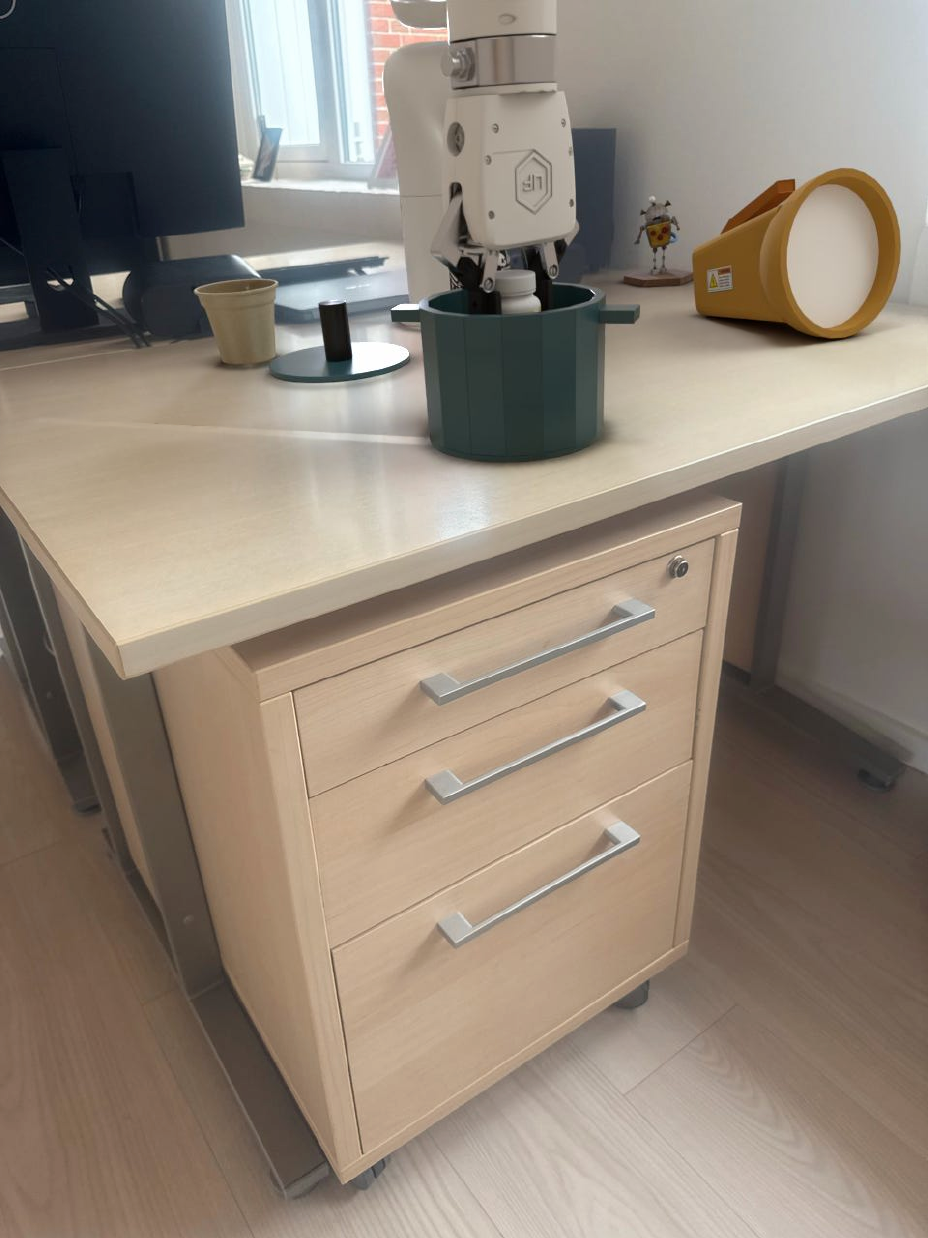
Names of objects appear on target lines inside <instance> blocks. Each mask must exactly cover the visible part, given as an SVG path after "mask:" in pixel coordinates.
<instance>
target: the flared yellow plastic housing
mask: <svg viewBox="0 0 928 1238" xmlns="http://www.w3.org/2000/svg"><path fill="white" fill-rule="evenodd" d="M897 215H898V214H897V213H896V210H895V207H894V205H893V201H892V200H891V198H890V197H889V195H888V193H887V192H886V190H885V188H884V187H883V186H882V185H881V184H880V183H879V181H877V179H875V178H874V177H872V176H871V175H869V174H868V173H866V172H865V171H861V170H859V169H856V168H851V167H850V168H849V167H839V168H835V169H831V170H828V171H825V172H823V173H821V174H818V175H816V176H815V177H813V178H811V179H809V180H807V181H806V182H805V183H803V184H802V185H800V186H799V187H798V188H797V189H796V178H789V179H779V180H776V181H775V182H774V183H772V184H771V185H770V186H769V187H768V188H766V189H765V190H764V191H762V193H760V194H759V195H758V196H756V198H754V199H753V200H752V201H750V202H749V203H748V204H747V205H745V207H743V208H742V209H741V210H739V212H737V213H735V214H734V215H733V216H732V217H730V218H728V220H727V221H726V223H725V225H724V227H723V229H722V230H721V232H720V233H719V235H717V236H715V237H713V238H711V239H708V240H706V241H705V242H703V243H701V244H699V245H697V246H696V247H695V248H694V249H693V251H692V256H691V263H692V272H693V278H694V279H693V291H694V293H693V294H694V304H695V305H694V306H695V310H696V312H697V313H698V314H699V315H701V316H707V317H719V318H731V319H740V320H742V319H743V320H751V321H752V320H753V321H761V322H762V321H764V322H774V323H785V324H787V325H789V326H790V327H791V328H793V329H794V330H796V331H798V332H801V333H803V334H806V335H808V336H811V337H816V338H822V339H823V338H824V339H843V338H847V337H850V336H853V335H856V334H857V333H859V332H861V331H863V330H865V329H866V328H867V327H868V326H869V325H870V324H872V322H874V321H875V319H877V317H878V316H879V315H880V313H881V312H882V311H883V309H884V308H885V306H886V304H887V303H888V301H889V299H890V297H891V296H892V295H891V294H892V293H893V290H894V287H895V284H896V281H897V279H898V273H899V268H900V264H901V254H902V253H901V251H902V242H901V230H900V224H899V220H898V216H897Z"/></svg>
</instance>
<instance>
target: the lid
mask: <svg viewBox="0 0 928 1238" xmlns="http://www.w3.org/2000/svg"><path fill="white" fill-rule="evenodd" d="M317 305H318V312H319V320H320V327H321V335H322V342H323V345H319V346H313V347H307V348H302V349H298V350H295V351H292V352H288V353H286V354H283V355H281V356H278V357H276V358H273V360H272V361H270V363H269V364H268V369H269V373H270V375H271V376H273V377H274V378H276V379H280V380H284V381H289V382H297V383H332V382H333V383H335V382H344V381H353V380H360V379H365V378H371V377H376V376H380V375H384V374H386V373H390V372H393V371H395V370H398V369H400V368H402V367H404V366H405V365H407V364H408V362H409V361H410V352H409V351H408V350H407V348H404V347H403V346H398V345H396V344H391V343H383V342H352V341H351V331H350V322H349V315H348V308H347V307H348V305H347V300H345V299H328V300H323V301H320V302H318V304H317Z"/></svg>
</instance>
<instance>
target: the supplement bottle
mask: <svg viewBox="0 0 928 1238" xmlns="http://www.w3.org/2000/svg"><path fill="white" fill-rule="evenodd" d="M535 288H536V280H535V272H533V271H529V270H524V269H511V270H501V271H497V273H496V279H495V286H494V289H493V291H500V294H501V307H502V315H504V314H518V313H531V312H541V304H540V301H539V299H538V298H537V297H536V296H534V295H533V293H534V292H535V291H536V289H535Z"/></svg>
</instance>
